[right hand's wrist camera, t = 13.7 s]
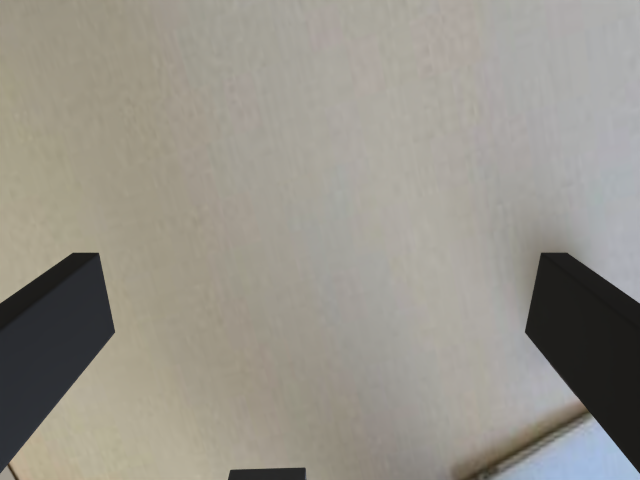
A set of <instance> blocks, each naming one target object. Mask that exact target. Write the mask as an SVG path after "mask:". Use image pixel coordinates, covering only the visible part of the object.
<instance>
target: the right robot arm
mask: <svg viewBox="0 0 640 480" xmlns="http://www.w3.org/2000/svg"><path fill="white" fill-rule="evenodd" d="M114 333H115V329H114V324H113V319H112V315H111V310H110V305H109V300H108V295H107V290H106V285H105V280H104V276H103V271H102V266H101V261H100V256H99V253H72V254H71V255H69V256H68V257H66V258H65V259H63V260H62V261H61V262H59V263H58V264H56V265H55V266H53V267H52V268H51V269H49V270H48V271H46V272H45V273H43V274H42V275H40V276H39V277H38V278H36V279H35V280H33V281H32V282H30V283H29V284H28V285H26V286H25V287H23V288H22V289H20V290H19V291H18V292H16V293H15V294H13V295H12V296H10V297H9V298H8V299H6V300H5V301H3V302H2V303H0V473H1V472H2V471H3V469H4V468H5V467H6V466H7V465H8V463H9V462H10V461H11V460H12V458H13V457H14V456H15V455H16V453H17V452H18V451H19V450H20V449H21V447H22V446H23V445H24V444H25V442H26V441H27V440H28V439H29V437H30V436H31V435H32V434H33V433H34V431H35V430H36V429H37V428H38V426H39V425H40V424H41V423H42V422H43V420H44V419H45V418H46V417H47V415H48V414H49V413H50V412H51V410H52V409H53V408H54V407H55V406H56V404H57V403H58V402H59V401H60V399H61V398H62V397H63V396H64V394H65V393H66V392H67V391H68V390H69V388H70V387H71V386H72V385H73V383H74V382H75V381H76V380H77V378H78V377H79V376H80V375H81V374H82V372H83V371H84V370H85V369H86V367H87V366H88V365H89V364H90V363H91V361H92V360H93V359H94V358H95V356H96V355H97V354H98V353H99V351H100V350H101V349H102V348H103V347H104V345H105V344H106V343H107V342H108V340H109V339H110V338H111V337H112V335H113V334H114ZM525 333H526V334H527V335H528V337H529V338H530V339H531V340H532V342H533V343H534V344H535V345H536V347H537V348H538V349H539V350H540V351H541V353H542V354H543V355H544V356H545V358H546V359H547V360H548V361H549V363H550V364H551V365H552V366H553V367H554V369H555V370H556V371H557V372H558V374H559V375H560V376H561V377H562V378H563V380H564V381H565V382H566V383H567V385H568V386H569V387H570V388H571V390H572V391H573V392H574V393H575V394H576V396H577V397H578V398H579V399H580V401H581V402H582V403H583V404H584V406H585V407H586V408H587V409H588V410H589V412H590V413H591V414H592V415H593V417H594V418H595V419H596V420H597V422H598V423H599V424H600V425H601V426H602V428H603V429H604V430H605V431H606V433H607V434H608V435H609V436H610V437H611V439H612V440H613V441H614V442H615V444H616V445H617V446H618V447H619V449H620V450H621V451H622V452H623V453H624V455H625V456H626V457H627V458H628V460H629V461H630V462H631V463H632V465H633V466H634V467H635V468H636V469H637V471H638V472H639V473H640V303H638V302H637V301H635V300H634V299H632V298H631V297H630V296H628V295H627V294H625V293H624V292H622V291H621V290H620V289H618V288H617V287H615V286H614V285H612V284H611V283H610V282H608V281H607V280H605V279H604V278H602V277H601V276H600V275H598V274H597V273H595V272H594V271H592V270H591V269H589V268H588V267H587V266H585V265H584V264H582V263H581V262H579V261H578V260H577V259H575V258H574V257H572V256H571V255H569V254H568V253H541V256H540V261H539V266H538V271H537V276H536V280H535V285H534V290H533V295H532V300H531V305H530V310H529V315H528V319H527V324H526V329H525Z"/></svg>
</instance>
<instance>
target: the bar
mask: <svg viewBox="0 0 640 480" xmlns="http://www.w3.org/2000/svg"><path fill="white" fill-rule="evenodd" d="M228 480H306V469H305V468H275V469H242V470H230V473H229V478H228Z"/></svg>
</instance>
